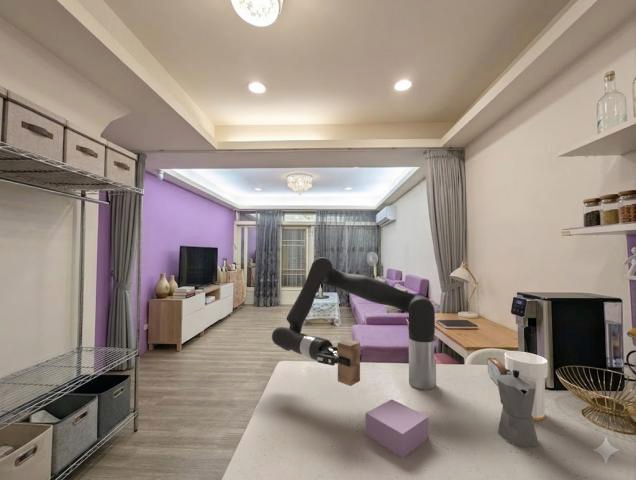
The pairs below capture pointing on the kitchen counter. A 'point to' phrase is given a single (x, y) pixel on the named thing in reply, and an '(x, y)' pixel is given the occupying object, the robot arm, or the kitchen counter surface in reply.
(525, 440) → the coffeepot
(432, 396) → the kitchen counter surface
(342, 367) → the walnut block
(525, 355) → the cup
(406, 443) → the base block
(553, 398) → the kitchen counter surface
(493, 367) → the tin
